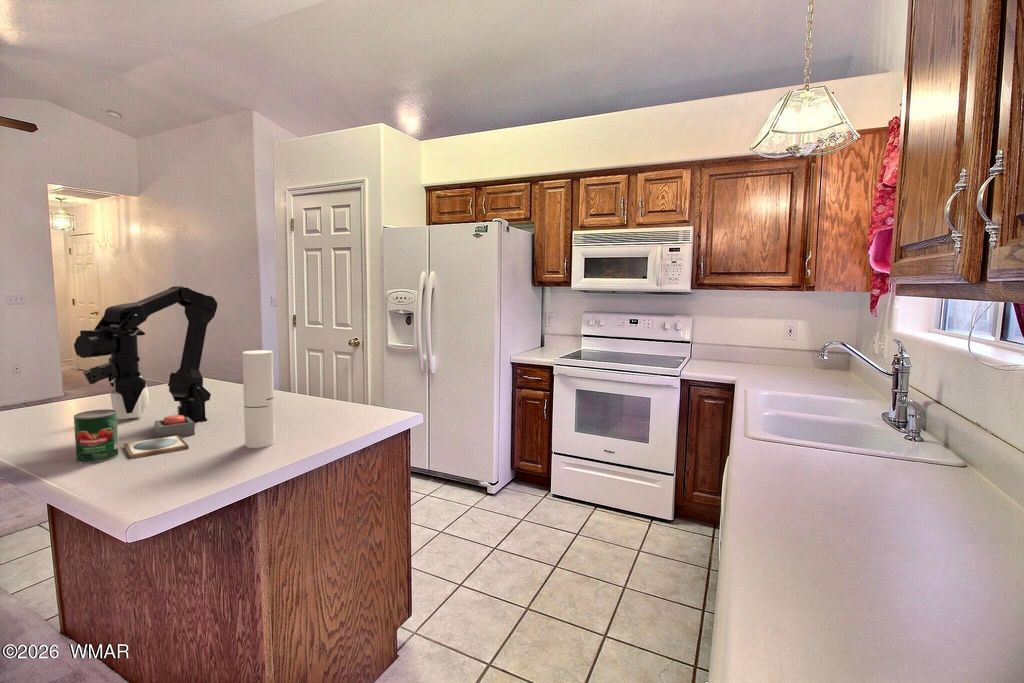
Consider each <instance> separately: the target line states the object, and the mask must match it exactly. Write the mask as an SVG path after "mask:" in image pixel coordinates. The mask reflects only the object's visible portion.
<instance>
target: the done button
mask: <svg viewBox="0 0 1024 683" xmlns="http://www.w3.org/2000/svg"><path fill="white" fill-rule="evenodd" d="M163 420H164V426H166V425H173V424H180V423H185V419H184V416H183V415H178V414H177V415H176V414H175V415H168V416H165V417H164V418H163Z"/></svg>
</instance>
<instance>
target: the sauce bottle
mask: <svg viewBox="0 0 1024 683" xmlns="http://www.w3.org/2000/svg"><path fill="white" fill-rule="evenodd" d="M140 377H141V378H143V376H142V375H140ZM148 389H149V388H148V387H147V385H146V388H144V389H143V390H142V403H141V415H140V416H138V418H139V417H141V416H142V415H143V414H145V412H146V411H147V409H148V407H149V406H148V405H149V400H150V397H149V396H150V394H149V390H148ZM134 418H135V419H138V418H137V417H134ZM132 420H134V419H133V418H132Z"/></svg>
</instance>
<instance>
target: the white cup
mask: <svg viewBox="0 0 1024 683" xmlns="http://www.w3.org/2000/svg"><path fill="white" fill-rule="evenodd" d="M109 394H110V395H109V396H110V401H111V406H112V410H116V411H117V420H124V419H125V420H126V419H130V418H134V417H138V416H139V417H141V416H142V414H141V403H142V392H141V394H140V396H139V398H138V401H137V403H136V405H135V407H134V409H133V411H132V413H127V412H126V409H125V406H124V402H123V399H122V395H121V394H119V393H118V392H116V391H115V390H113V391H110V392H109ZM140 415H141V416H140ZM139 417H138V418H139Z"/></svg>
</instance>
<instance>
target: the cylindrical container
mask: <svg viewBox="0 0 1024 683" xmlns="http://www.w3.org/2000/svg"><path fill="white" fill-rule="evenodd" d="M242 378H243V379H242V380H243V381H242V382H243V384H242V385H243V416H244V424H243V425H244V446H245V447H247V448H250V449H258V448H259V449H260V448H265V447H270V446H272V445H274V444H275V441H276V438H275V435H276V434H275V387H274V351H273V350H267V349H265V350H264V349H263V350H259V349H258V350H245V351H243V352H242Z"/></svg>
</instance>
